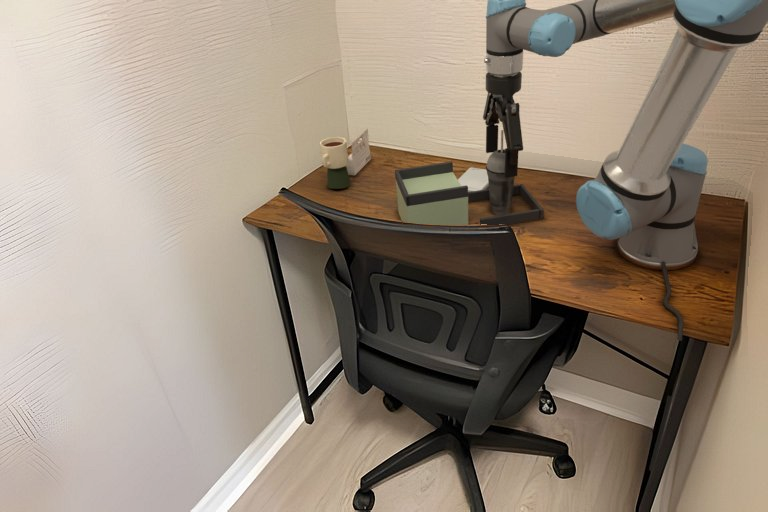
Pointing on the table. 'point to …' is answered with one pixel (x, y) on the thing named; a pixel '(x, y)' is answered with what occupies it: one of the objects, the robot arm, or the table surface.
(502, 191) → the beverage cup
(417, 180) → the tray
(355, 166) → the ink cartridge box
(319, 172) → the table surface
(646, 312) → the table surface
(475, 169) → the hard drive
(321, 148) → the character mug
